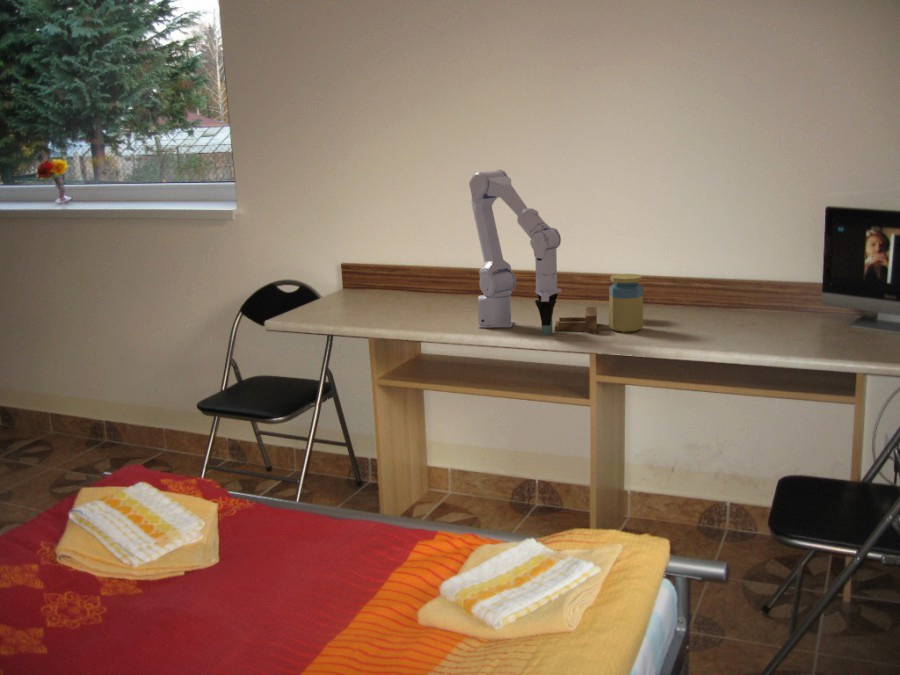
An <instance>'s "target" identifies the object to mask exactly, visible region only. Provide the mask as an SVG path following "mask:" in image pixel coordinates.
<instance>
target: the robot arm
mask: <svg viewBox="0 0 900 675" xmlns="http://www.w3.org/2000/svg"><path fill="white" fill-rule="evenodd" d="M468 185H469V189H470V194H471V207H472V211H473V217H474V221H475V225H476V231H477V235H478V240H479V243H480V248H481V249H480V250H481V254H482V258H483V262H484V263H483V265H482V266H481V268H480V270H479V272H478V274H479V289H480V290H481V293H483V295H479V296H478V298H477V299H478V300H477V309H478V310H477V311H478V312H477V313H478V314H477V315H478V316H477V318H478V319H477V320H478V328H487V329H489V328H492V329H493V328H512V326H513V324H514V321H515V320H514V319H512V303H511V302H512V299H511V298H512V296H511V294H513V290H514V289H515V288H516V285H517V279H516V278H517V277H516V275H515V274H514V272H513V270H512V266H511V264H510V263H508V261H506V260H505V259H504V256H503V252H502V247H501V242H500V239H499V238H500V237H499V234H498V229H497V225H496V219H495V216H494V211H493V205H494V202H495V201H496V200H497V199H498V198H500V199H501V200H502V202H504V203H505V204H506V205H507V206H508V207H509V209H510V210H512V212H513V213H514V214H515V215H516V216H517V224H518V225H519V226H520V227H521V228H522V230H523V231H524V232H525V234H526V235H527V236H528V238H530V241H529V244H530V246H531V249H532V250H533V256H534V258H535V259H534V260H535V292H534V293H535V294H536V295H537V296H536V297H537V298H538V299H535V301H534V304H535V306H536V307H537V310H538V312H539V316H540V322H542V325H543V326H550V324H551V319H552V320H553V316H554V315H553V314H554V308H555V305H556V304H557V298H558V295H559V294H558V293H562V288H558V280H557V279H558V278H557V277H558V273H557V272H558V269H557V268H558V266H557V265H558V264H557V262H558V261H557V260H558V259H557V258H558V256H557V249H558V248H559V247H560V245H561V242H562V238H561V235H560V232H559V231H558V229H556V228H554V227H551V226H549V225H548V223H546V222H545V221H544V220H543V218H542V217H541V216H540V215H539V212H538V210H537V209H534V208H530V207H529V208H528V207H527V205H526V203H525V202H524V201H523V200H522V198H521V196H520V195H519V194H518V193H517V191H516V189H515V188H514V187H513V185H512V179H511V177H509V176H508V174H507V172H505V171H504V170H502V169H497V170H490V171H489V170H488V171H476V172H475V173H473V175H472V177H471V179H470V180H469V182H468Z"/></svg>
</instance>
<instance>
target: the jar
mask: <svg viewBox="0 0 900 675" xmlns="http://www.w3.org/2000/svg"><path fill="white" fill-rule="evenodd" d="M609 280H610V282H613V283H612V284H611V285H610V286H609V287H608V290H609V291H608V294H609V295H608V296H609V298H608V299H609V301H608V303H609V304H608V305H609V306H608V307H609V308H608V310H609V311H608V314H609V315H608V318H609V320H608V327H609V328H610V329H611V330H613V331H615V332H617V333H626V334H627V333H636V332H637V331H640V330H641V329H642V328H643V326H644V323H643V321H644V286H642V285H641V284H639V283H640V282H642V281H643V276H642V275H640V274H636V273H635V274H634V273H619V274H618V273H617V274H613V275H610V277H609Z"/></svg>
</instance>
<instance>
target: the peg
mask: <svg viewBox="0 0 900 675" xmlns="http://www.w3.org/2000/svg"><path fill="white" fill-rule="evenodd" d="M540 322H541V321H540ZM541 335H543V336H551V335H553V318H552V319H551V324H550V326H543V325H542V322H541Z"/></svg>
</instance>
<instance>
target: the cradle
mask: <svg viewBox="0 0 900 675" xmlns="http://www.w3.org/2000/svg"><path fill="white" fill-rule="evenodd" d="M597 310H598V308H597V306H586V307H585V316H559V317H558V319H559V320H556V321H555V323H554V325H555V326H554V331H556V332H585V334H596V333H597V330H598V329H597V328H598V325H597V324H598V321H597V317H598V315H597V314H598V313H597V312H598V311H597Z"/></svg>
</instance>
